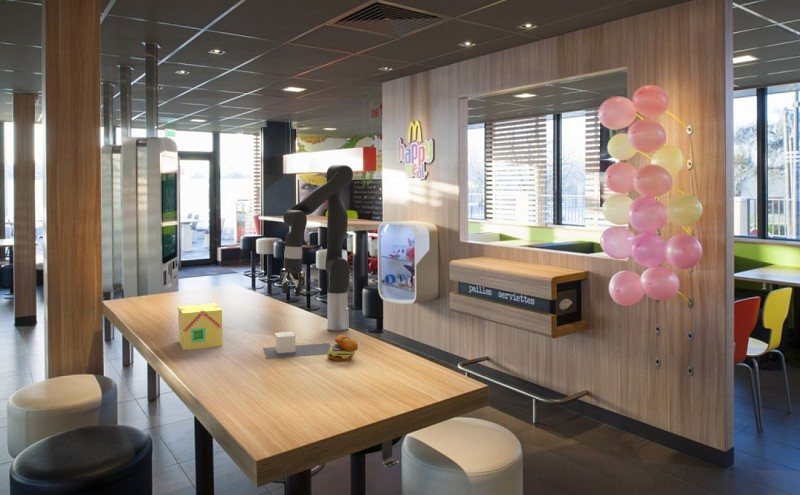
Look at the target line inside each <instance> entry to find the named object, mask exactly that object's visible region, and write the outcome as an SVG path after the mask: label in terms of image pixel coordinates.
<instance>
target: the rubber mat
mask: <svg viewBox="0 0 800 495" xmlns="http://www.w3.org/2000/svg"><path fill="white" fill-rule="evenodd" d="M331 347H332V345H331V344H330V343H329V342H325V343H317V344H316V343H312V344H295V354H282V355H277V353H276V350H275V346H271V347H262V349H263V353H264V355H265V359H266V360H272V359H273V360H274V359H287V358H297V357H298V358H299V357H310V356H312V357H313V356H323V355H325V356H327V354H328V351H329V350H330V348H331Z"/></svg>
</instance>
